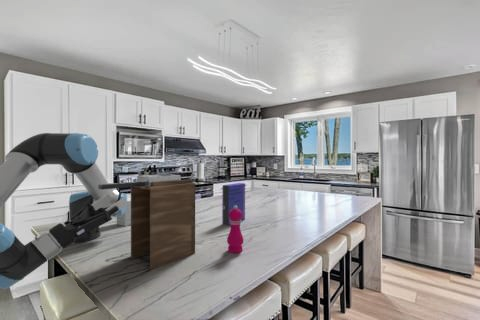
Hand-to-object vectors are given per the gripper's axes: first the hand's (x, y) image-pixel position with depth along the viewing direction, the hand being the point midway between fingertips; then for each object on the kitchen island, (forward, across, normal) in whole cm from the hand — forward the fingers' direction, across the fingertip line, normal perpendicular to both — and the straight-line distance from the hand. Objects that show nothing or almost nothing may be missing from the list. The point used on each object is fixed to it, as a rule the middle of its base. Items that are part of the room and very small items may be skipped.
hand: (117, 198), depth 89 cm
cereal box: (+54, +14, +61) cm, 82 cm away
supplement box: (+12, +58, +37) cm, 70 cm away
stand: (+3, 0, +32) cm, 32 cm away
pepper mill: (+24, -19, +44) cm, 53 cm away
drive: (+10, 0, +1) cm, 10 cm away
